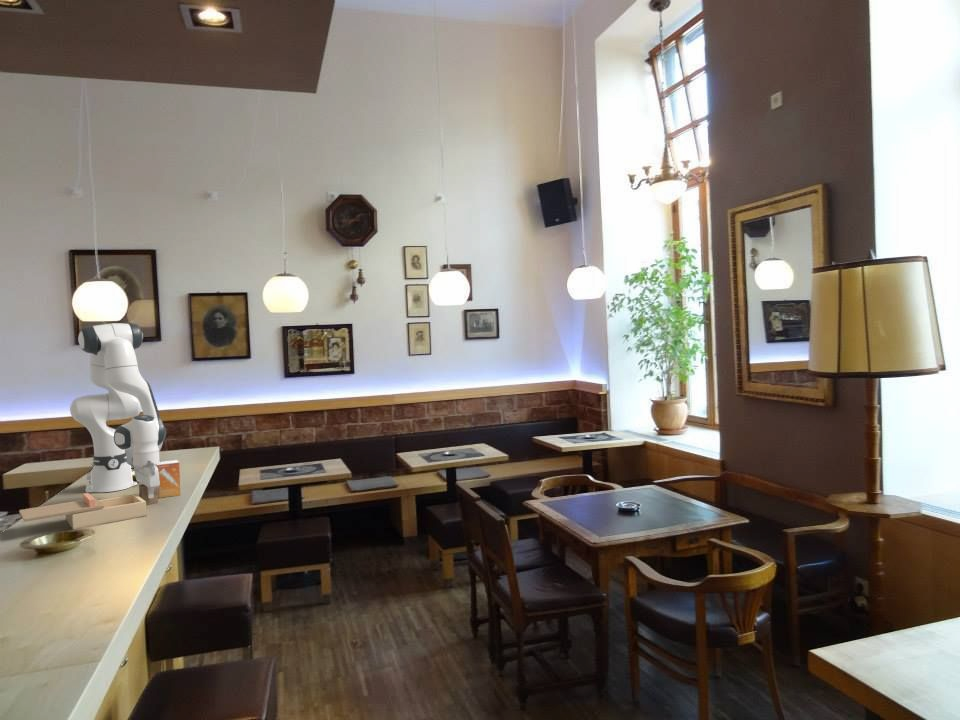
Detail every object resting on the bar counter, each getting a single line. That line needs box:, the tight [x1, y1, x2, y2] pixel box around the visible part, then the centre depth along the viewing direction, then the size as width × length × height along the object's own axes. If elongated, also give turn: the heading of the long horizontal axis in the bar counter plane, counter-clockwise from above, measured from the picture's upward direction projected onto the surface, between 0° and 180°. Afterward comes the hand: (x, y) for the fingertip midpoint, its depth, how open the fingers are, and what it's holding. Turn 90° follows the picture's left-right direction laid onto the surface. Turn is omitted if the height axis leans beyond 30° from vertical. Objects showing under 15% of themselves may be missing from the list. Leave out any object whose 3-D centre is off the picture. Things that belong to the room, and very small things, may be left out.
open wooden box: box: [65, 493, 148, 530], centre depth 232 cm, size 15×22×5 cm
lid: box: [18, 492, 104, 523], centre depth 223 cm, size 15×22×3 cm
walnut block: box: [138, 484, 159, 506], centre depth 250 cm, size 5×5×7 cm
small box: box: [156, 459, 182, 499], centre depth 262 cm, size 8×6×13 cm
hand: (148, 496), depth 250 cm, fingers closed on walnut block, 5 cm apart
